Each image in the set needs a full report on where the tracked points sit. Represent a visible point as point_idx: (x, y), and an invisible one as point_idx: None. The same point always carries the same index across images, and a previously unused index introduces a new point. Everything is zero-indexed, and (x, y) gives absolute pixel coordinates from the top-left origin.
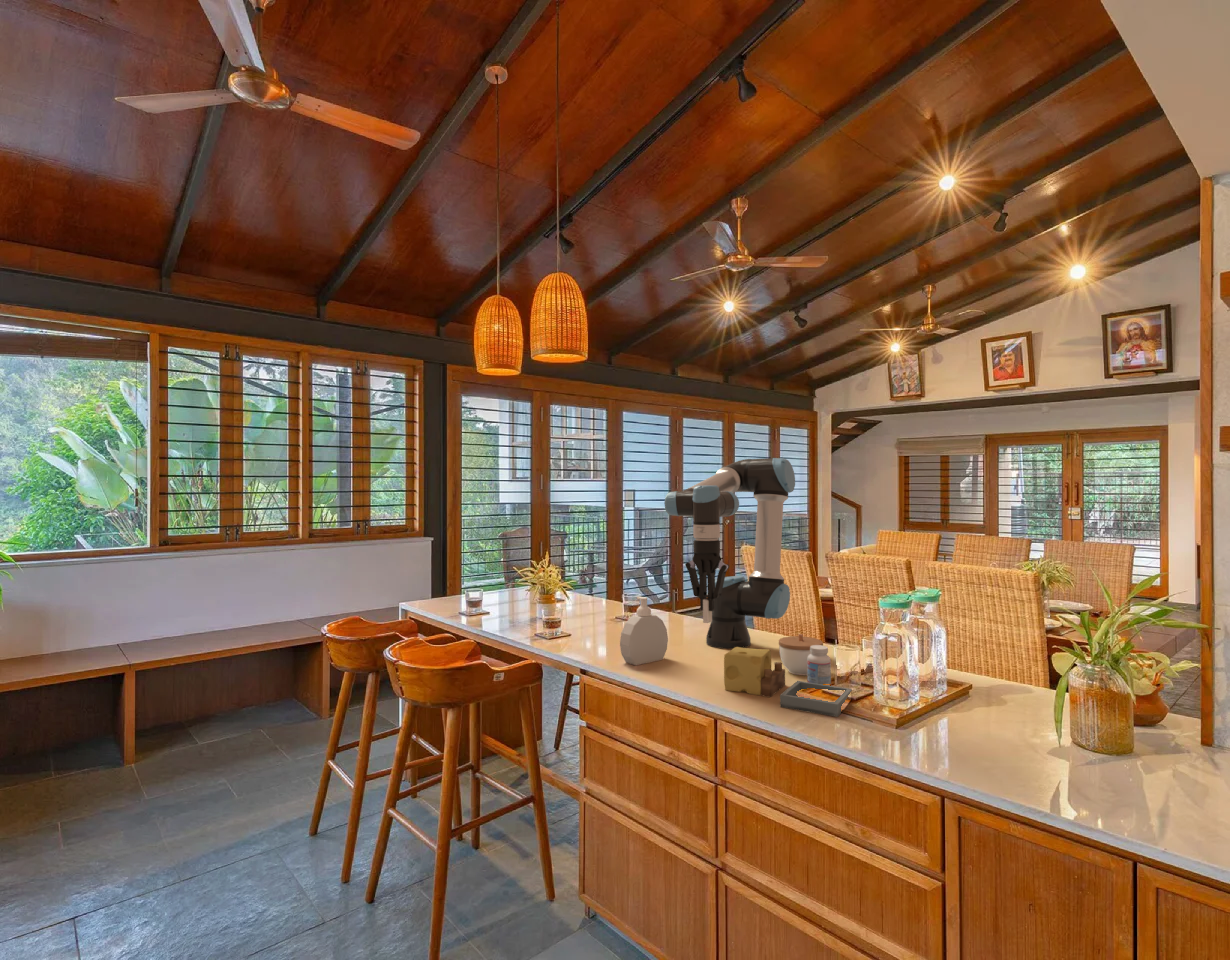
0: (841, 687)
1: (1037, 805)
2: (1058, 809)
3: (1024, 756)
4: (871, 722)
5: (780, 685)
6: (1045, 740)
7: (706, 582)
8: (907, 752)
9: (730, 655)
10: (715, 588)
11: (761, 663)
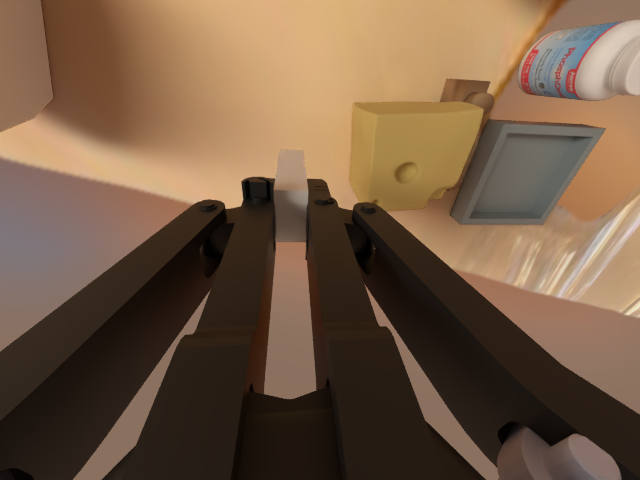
0: (587, 129)
1: (618, 309)
2: (629, 308)
3: None
4: (569, 212)
5: None
6: None
7: (266, 268)
8: (569, 273)
9: None
10: (372, 290)
11: (447, 188)
